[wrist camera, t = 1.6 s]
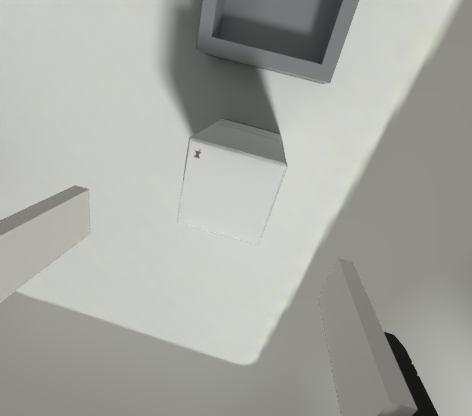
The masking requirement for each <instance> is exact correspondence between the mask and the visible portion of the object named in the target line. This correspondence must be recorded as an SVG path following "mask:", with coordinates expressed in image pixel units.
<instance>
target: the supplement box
mask: <svg viewBox="0 0 472 416" xmlns="http://www.w3.org/2000/svg"><path fill="white" fill-rule="evenodd" d="M287 167H288V166H287V162H286V159H285V153H284V148H283V142H282V138H281V135H280V134H276V133H273V132H270V131H266V130H263V129H259V128H255V127H252V126H248V125H244V124H240V123H237V122H233V121H229V120H225V119H221V120H219V121H217V122H216V123H214V124H212V125H210V126H209V127H207V128H205V129H203V130H202V131H200V132H198V133H197V134H195V135H193V136H191V137H190V138H189V142H188V150H187V157H186V164H185V171H184V178H183V186H182V192H181V199H180V205H179V211H178V218H177V222H178V223H180V224H184V225H187V226H191V227H195V228H198V229H202V230H205V231H209V232H212V233H216V234H220V235H223V236H227V237H230V238H234V239H237V240H241V241H244V242H248V243H251V244H255V245H259V243H260V240H261V238H262V235H263V232H264V229H265V226H266V224H267V221H268V218H269V216H270V213H271V210H272V208H273V205H274V202H275V200H276V197H277V194H278V191H279V189H280V186H281V183H282V181H283V178H284V175H285V172H286V170H287Z"/></svg>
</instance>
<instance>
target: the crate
mask: <svg viewBox="0 0 472 416" xmlns="http://www.w3.org/2000/svg"><path fill="white" fill-rule="evenodd" d="M358 2H359V0H203V2H202V10H201V17H200V24H199V31H198V39H197V46H196V49H197V50H199V51H201V52H203V53H205V54H207V55H211V56H215V57H219V58H223V59H227V60H231V61H235V62H238V63H242V64H246V65H250V66H254V67H258V68H262V69H266V70H270V71H274V72H278V73H282V74H286V75H290V76H294V77H298V78H302V79H306V80H310V81H314V82H318V83H322V84H325V83H330V82H331V79H332V76H333V73H334V70H335V67H336V65H337V62H338V59H339V56H340V53H341V50H342V47H343V45H344V42H345V39H346V36H347V33H348V30H349V27H350V25H351V22H352V19H353V16H354V13H355V10H356V7H357V5H358Z"/></svg>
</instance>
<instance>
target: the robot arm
mask: <svg viewBox="0 0 472 416" xmlns="http://www.w3.org/2000/svg"><path fill="white" fill-rule="evenodd" d="M89 234H90V203H89V189H86V188H83V187H79V186H76V185H75V186H73V187H71V188H69V189H66V190H64V191H62V192H60V193H58V194H56V195H54V196H52V197H49V198H47V199H45V200H43V201H41V202H39V203H37V204H34V205H32V206H30V207H28V208H26V209H24V210H22V211H20V212H17V213H15V214H13V215H11V216H9V217H7V218H5V219H3V220H0V302H2V301H3V300H4V299H5V298H7V297H8V296H9V295H10V294H12V293H13V292H15V291H16V290H17V289H19V288H20V287H21V286H22V285H24V284H25V283H26V282H28V281H29V280H30V279H32V278H33V277H34V276H36V275H37V274H38V273H39V272H41V271H42V270H43V269H45V268H46V267H47V266H49V265H50V264H51V263H53V262H54V261H55V260H56V259H58V258H59V257H60V256H62V255H63V254H64V253H66V252H67V251H68V250H70V249H71V248H72V247H73V246H75V245H76V244H77V243H79V242H80V241H81V240H83V239H84V238H85V237H87V236H88V235H89ZM318 301H319V306H320V310H321V316H322V321H323V326H324V331H325V336H326V341H327V347H328V352H329V357H330V362H331V367H332V372H333V377H334V383H335V388H336V392H337V397H338V403H339V408H340V413H341V416H438V414H437V412H436V410H435V408H434V406H433V404H432V402H431V400H430V398H429V396H428V394H427V392H426V390H425V388H424V386H423V383H422V382H421V379H420V378H419V376H417V371H416V369H415V367H414V365H412V361H411V359H410V357H409V355H408V353H407V351H406V349H405V348H404V346H403V345H402V344H401V343H400V342H399V340H398V339H397V338H396V337H395V336H394V335H392V334H389V333H386V332H383V330H382V327H381V325H380V323H379V320H378V318H377V316H376V313H375V311H374V310H373V307H372V304H371V302H370V300H369V298H368V295H367V293H366V291H365V289H364V286H363V284H362V282H361V279H360V277H359V275H358V273H357V270H356V268H355V266H354V264H353V262H351V261H347V260H344V259H340V258H338V259H337V261H336V263H335V265H334V267H333V269H332V271H331V273H330V275H329V277H328V279H327V281H326V283H325V285H324V287H323V289H322V291H321V293H320V295H319V297H318Z"/></svg>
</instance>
